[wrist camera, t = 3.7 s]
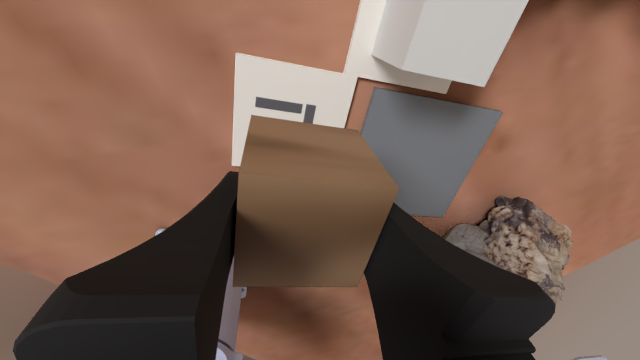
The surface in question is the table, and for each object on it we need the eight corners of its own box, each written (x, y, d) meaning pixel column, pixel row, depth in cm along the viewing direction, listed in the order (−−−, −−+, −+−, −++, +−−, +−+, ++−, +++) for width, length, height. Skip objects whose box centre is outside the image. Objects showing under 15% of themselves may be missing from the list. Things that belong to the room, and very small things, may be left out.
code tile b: (443, 92, 20) (446, 94, 20) (342, 73, 18) (344, 74, 18) (503, -42, 16) (506, -42, 16) (380, -85, 14) (382, -87, 14)
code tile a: (330, 173, 22) (331, 175, 22) (232, 163, 21) (231, 165, 20) (356, 75, 18) (357, 77, 18) (236, 52, 16) (235, 52, 16)
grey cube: (437, 69, 18) (484, 87, 14) (371, 54, 17) (401, 69, 13) (472, -18, 16) (542, -27, 12) (398, -42, 15) (446, -61, 11)
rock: (482, 230, 34) (593, 243, 25) (451, 316, 30) (570, 366, 21) (450, 184, 30) (565, 182, 22) (408, 274, 26) (532, 315, 18)
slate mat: (440, 214, 27) (442, 217, 27) (337, 207, 25) (338, 210, 24) (499, 110, 21) (503, 112, 21) (374, 87, 19) (376, 88, 19)
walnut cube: (334, 211, 15) (357, 287, 11) (244, 205, 14) (232, 287, 10) (358, 130, 13) (399, 188, 9) (251, 114, 12) (238, 173, 7)
